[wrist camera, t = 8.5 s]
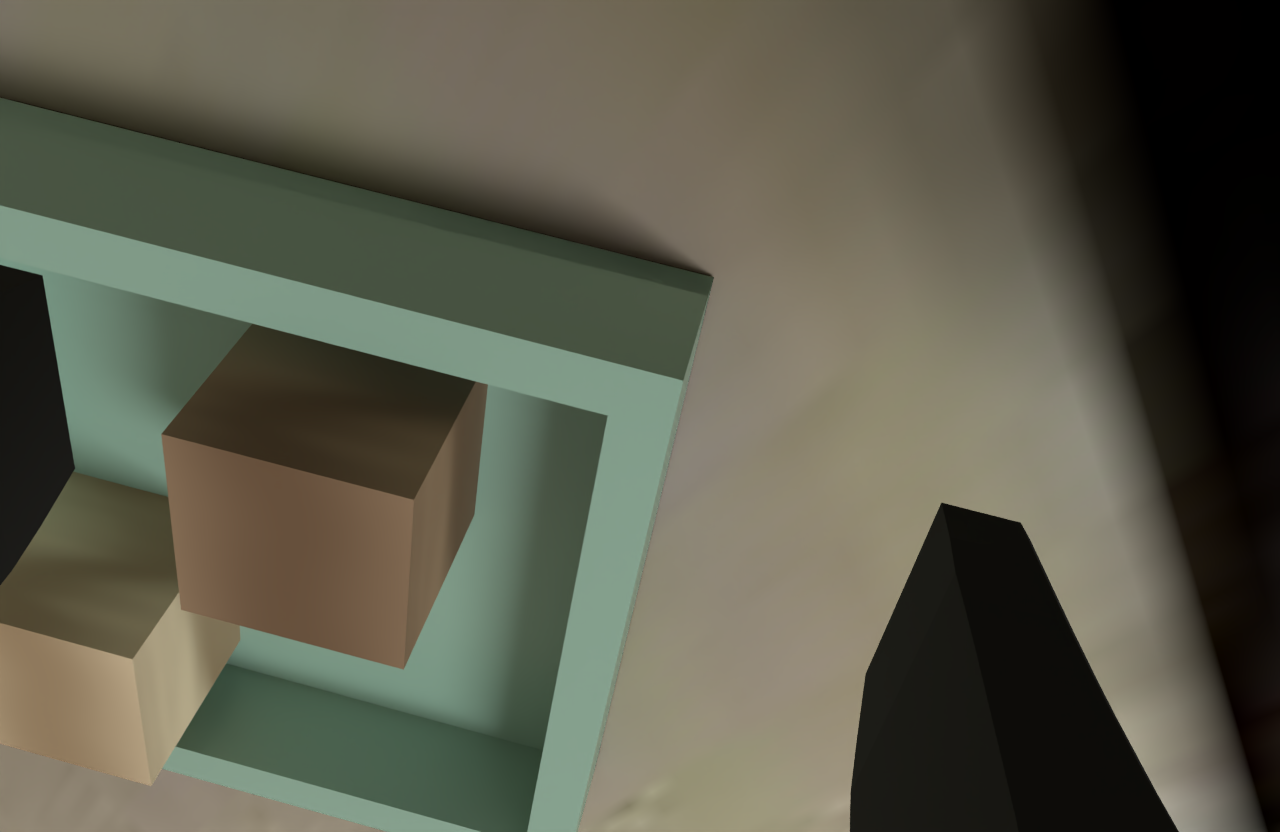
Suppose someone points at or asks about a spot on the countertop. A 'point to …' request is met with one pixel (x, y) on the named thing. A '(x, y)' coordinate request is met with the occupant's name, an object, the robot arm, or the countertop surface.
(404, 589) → the walnut block
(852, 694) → the countertop surface
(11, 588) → the beech block in tray
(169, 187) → the tray
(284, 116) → the countertop surface
